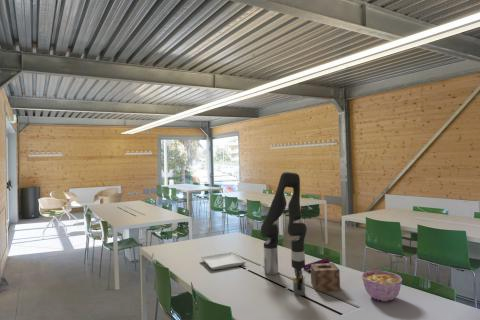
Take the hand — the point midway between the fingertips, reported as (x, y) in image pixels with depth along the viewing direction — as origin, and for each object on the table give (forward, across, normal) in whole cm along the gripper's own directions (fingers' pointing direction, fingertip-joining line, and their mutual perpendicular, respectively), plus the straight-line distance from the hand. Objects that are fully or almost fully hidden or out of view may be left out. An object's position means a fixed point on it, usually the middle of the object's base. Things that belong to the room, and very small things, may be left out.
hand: (299, 288), depth 188 cm
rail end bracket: (+3, 0, 0) cm, 3 cm away
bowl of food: (+3, +9, +43) cm, 44 cm away
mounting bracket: (+4, -37, +18) cm, 41 cm away
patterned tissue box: (+3, -9, +17) cm, 19 cm away
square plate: (+4, -60, -46) cm, 76 cm away
